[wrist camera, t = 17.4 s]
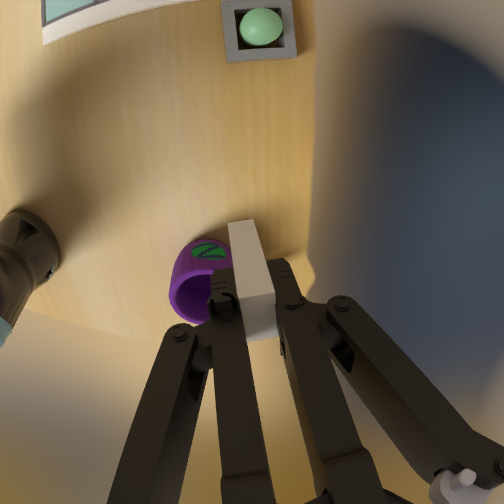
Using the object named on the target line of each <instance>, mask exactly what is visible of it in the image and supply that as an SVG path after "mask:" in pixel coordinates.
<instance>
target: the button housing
mask: <svg viewBox="0 0 504 504" xmlns="http://www.w3.org/2000/svg"><path fill="white" fill-rule="evenodd" d="M220 8H221V18H222V27H223V36H224V45H225V54H226V63H236V62H247V61H260V60H279V59H294V58H297V51H296V40H295V29H294V20H293V11H292V2H291V0H225V1H221V5H220ZM256 8H267V9H270V10H272V11H274V12H275V13H277V14H278V15H279V17H280V18H281V20H282V24H283V29H282V32H281V34H280V36H279V37H278V40H279V48H262V49H247V50H238V42H237V32H236V23H235V14H247V13H248V12H249V11H251V10H253V9H256Z"/></svg>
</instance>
